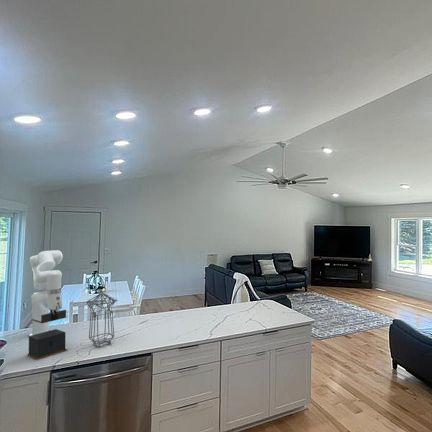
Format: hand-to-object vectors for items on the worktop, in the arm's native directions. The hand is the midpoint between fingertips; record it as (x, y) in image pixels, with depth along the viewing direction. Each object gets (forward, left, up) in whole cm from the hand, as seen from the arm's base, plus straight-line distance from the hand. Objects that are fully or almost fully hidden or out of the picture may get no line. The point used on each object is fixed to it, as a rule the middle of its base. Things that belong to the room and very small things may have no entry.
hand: (53, 319), depth 212 cm
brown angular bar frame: (-6, 0, 0) cm, 6 cm away
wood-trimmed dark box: (-4, -2, -21) cm, 22 cm away
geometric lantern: (+12, +24, -21) cm, 34 cm away
